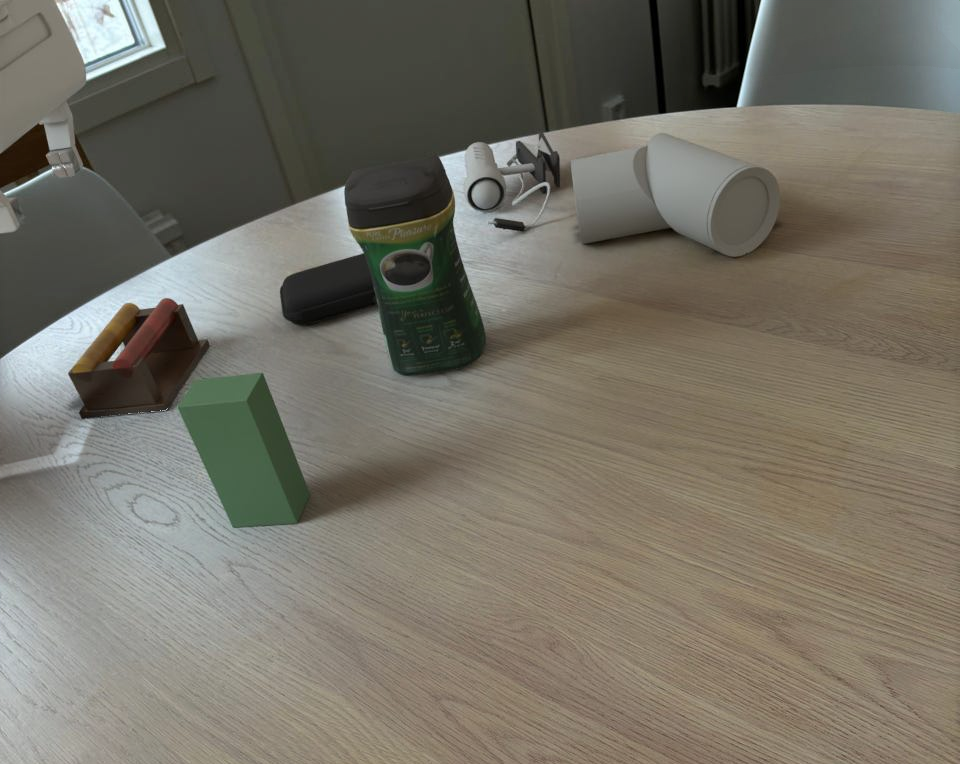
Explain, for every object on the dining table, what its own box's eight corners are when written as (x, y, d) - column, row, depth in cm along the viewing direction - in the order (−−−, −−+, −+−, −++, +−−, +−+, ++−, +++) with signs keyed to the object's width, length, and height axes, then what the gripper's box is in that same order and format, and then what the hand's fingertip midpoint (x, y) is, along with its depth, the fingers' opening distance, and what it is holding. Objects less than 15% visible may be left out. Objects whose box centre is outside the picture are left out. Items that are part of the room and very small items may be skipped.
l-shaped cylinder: (758, 171, 116) (578, 205, 119) (759, 78, 107) (565, 117, 110) (785, 275, 106) (588, 309, 109) (789, 181, 97) (575, 222, 101)
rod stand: (81, 419, 109) (53, 367, 105) (130, 354, 118) (106, 304, 114) (166, 411, 107) (141, 357, 102) (210, 345, 116) (188, 293, 111)
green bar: (232, 527, 89) (176, 406, 81) (247, 499, 92) (194, 379, 84) (297, 523, 87) (246, 400, 79) (310, 494, 90) (263, 372, 82)
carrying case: (289, 339, 113) (420, 301, 113) (279, 313, 110) (413, 275, 111) (283, 298, 120) (406, 263, 120) (274, 273, 118) (400, 237, 118)
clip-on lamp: (574, 245, 122) (552, 158, 132) (573, 196, 116) (550, 109, 126) (473, 260, 122) (459, 171, 132) (468, 211, 116) (453, 123, 127)
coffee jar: (490, 330, 105) (450, 138, 92) (484, 371, 99) (439, 173, 87) (398, 343, 107) (345, 157, 94) (386, 384, 101) (329, 193, 89)
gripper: (-22, -50, 74) (66, 150, 84) (-196, 39, 60) (-67, 268, 69) (56, -66, 73) (137, 140, 82) (-104, 21, 59) (16, 258, 68)
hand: (42, 200), depth 76 cm, fingers open, 8 cm apart
